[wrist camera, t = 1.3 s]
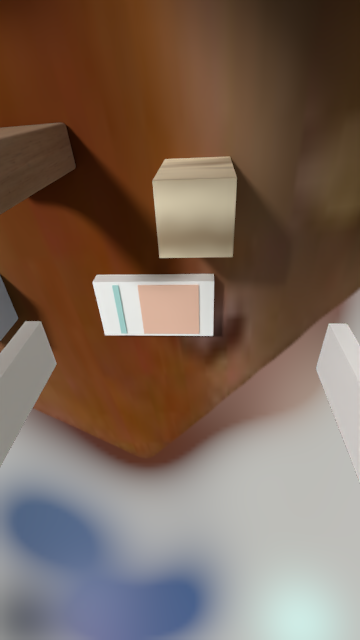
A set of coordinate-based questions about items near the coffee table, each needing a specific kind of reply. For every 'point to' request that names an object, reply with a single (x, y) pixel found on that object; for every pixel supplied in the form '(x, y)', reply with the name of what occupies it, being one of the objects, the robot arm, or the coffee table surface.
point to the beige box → (195, 207)
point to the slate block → (6, 311)
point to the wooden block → (32, 160)
